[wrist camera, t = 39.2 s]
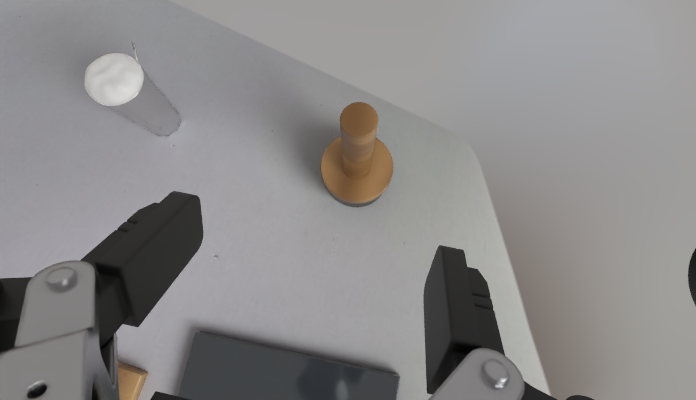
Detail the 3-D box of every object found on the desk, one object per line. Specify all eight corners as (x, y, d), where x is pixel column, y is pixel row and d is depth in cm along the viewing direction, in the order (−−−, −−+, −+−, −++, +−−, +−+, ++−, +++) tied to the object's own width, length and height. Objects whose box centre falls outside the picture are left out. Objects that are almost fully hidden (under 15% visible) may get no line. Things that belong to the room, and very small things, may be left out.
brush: (393, 151, 36) (416, 81, 23) (383, 214, 34) (402, 176, 22) (330, 141, 36) (318, 66, 23) (317, 203, 35) (298, 158, 22)
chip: (149, 371, 32) (141, 375, 31) (130, 419, 31) (121, 424, 30) (108, 356, 32) (99, 359, 31) (88, 404, 31) (78, 408, 30)
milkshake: (202, 120, 37) (148, 62, 27) (157, 151, 36) (85, 104, 26) (178, 88, 38) (117, 21, 28) (134, 118, 37) (55, 60, 27)
